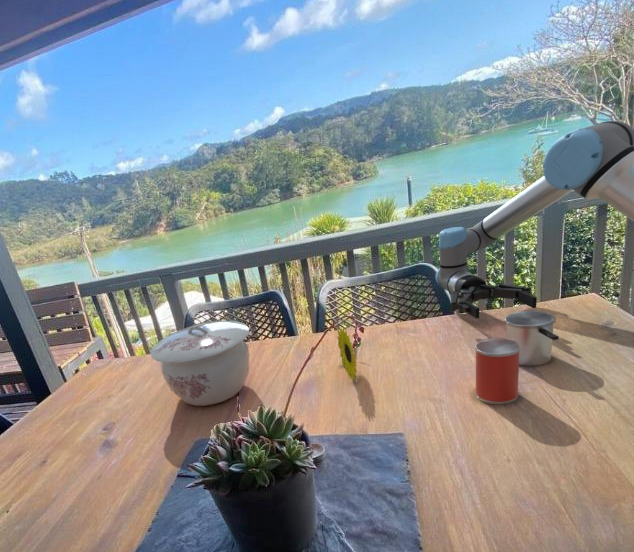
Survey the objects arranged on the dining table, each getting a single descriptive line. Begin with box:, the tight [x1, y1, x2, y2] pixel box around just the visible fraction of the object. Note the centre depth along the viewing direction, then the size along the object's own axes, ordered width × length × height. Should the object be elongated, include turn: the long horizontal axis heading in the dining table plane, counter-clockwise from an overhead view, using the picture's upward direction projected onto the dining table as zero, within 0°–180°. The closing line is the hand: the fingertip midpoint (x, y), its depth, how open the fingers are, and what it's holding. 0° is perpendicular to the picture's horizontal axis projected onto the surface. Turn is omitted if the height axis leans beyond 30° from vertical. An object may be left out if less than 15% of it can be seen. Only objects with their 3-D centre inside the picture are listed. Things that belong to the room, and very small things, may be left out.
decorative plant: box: [336, 326, 362, 382], centre depth 118 cm, size 15×6×30 cm
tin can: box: [474, 338, 520, 405], centre depth 90 cm, size 8×8×12 cm
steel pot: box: [504, 310, 559, 367], centre depth 99 cm, size 10×14×10 cm, turn 177°
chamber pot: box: [149, 320, 250, 407], centre depth 120 cm, size 28×28×21 cm
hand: (506, 308), depth 109 cm, fingers open, 13 cm apart
